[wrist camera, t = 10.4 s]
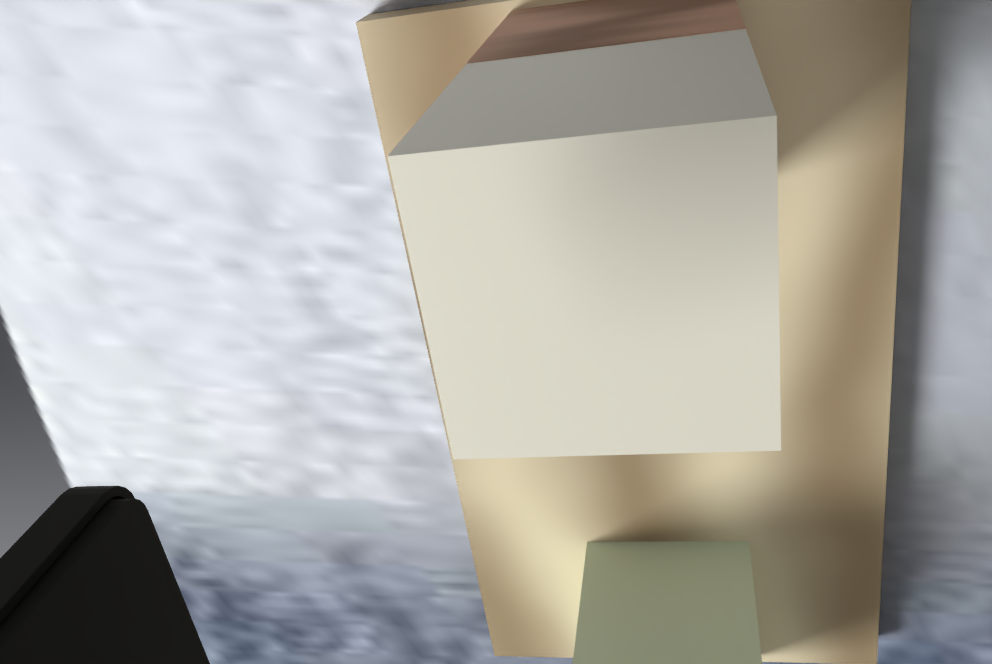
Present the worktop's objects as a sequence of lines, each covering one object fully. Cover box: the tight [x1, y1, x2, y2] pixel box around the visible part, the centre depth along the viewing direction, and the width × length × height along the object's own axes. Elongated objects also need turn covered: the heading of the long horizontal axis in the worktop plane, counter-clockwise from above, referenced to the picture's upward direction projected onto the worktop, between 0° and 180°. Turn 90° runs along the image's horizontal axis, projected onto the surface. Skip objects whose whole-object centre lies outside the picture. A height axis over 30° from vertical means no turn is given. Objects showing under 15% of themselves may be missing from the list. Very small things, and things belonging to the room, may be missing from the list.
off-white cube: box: [387, 29, 781, 459], centre depth 17 cm, size 6×6×6 cm
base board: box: [356, 0, 911, 664], centre depth 26 cm, size 14×24×7 cm, turn 9°
